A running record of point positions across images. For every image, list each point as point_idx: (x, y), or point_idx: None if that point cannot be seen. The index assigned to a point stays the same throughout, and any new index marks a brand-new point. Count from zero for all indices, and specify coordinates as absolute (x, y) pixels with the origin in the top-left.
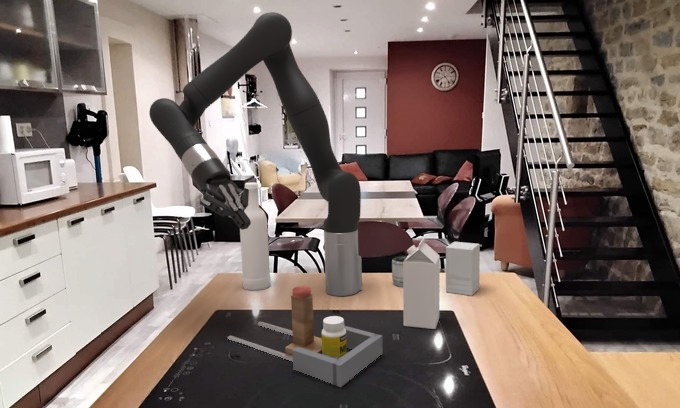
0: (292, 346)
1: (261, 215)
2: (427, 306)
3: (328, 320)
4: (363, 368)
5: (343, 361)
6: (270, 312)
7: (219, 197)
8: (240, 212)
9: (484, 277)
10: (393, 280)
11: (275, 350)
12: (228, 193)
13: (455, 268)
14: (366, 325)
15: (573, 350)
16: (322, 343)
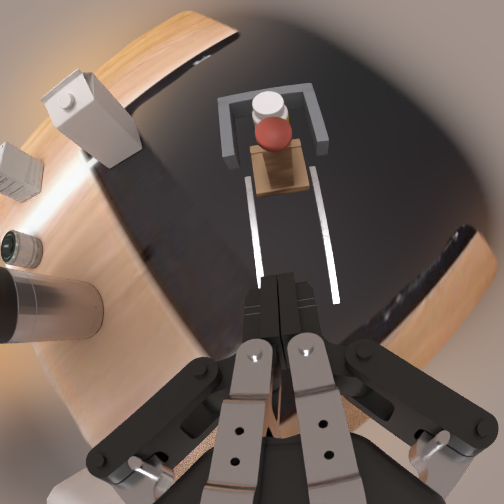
0: (300, 179)
1: (60, 495)
2: (123, 112)
3: (274, 105)
4: None
5: (301, 85)
6: (214, 344)
7: (378, 449)
8: (283, 325)
9: (3, 195)
10: (36, 259)
11: (317, 202)
12: (276, 478)
13: (20, 169)
14: (163, 182)
15: (128, 48)
16: None
